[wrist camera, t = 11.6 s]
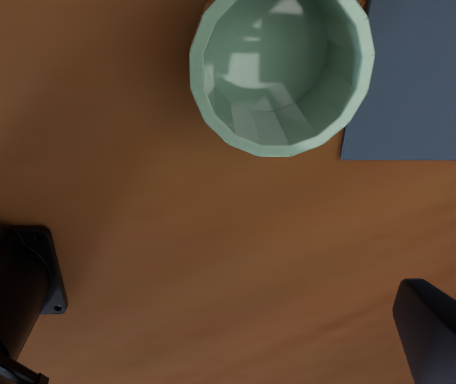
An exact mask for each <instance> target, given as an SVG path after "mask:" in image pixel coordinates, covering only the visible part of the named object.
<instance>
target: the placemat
mask: <svg viewBox="0 0 456 384" xmlns="http://www.w3.org/2000/svg"><path fill="white" fill-rule="evenodd" d="M366 14H367V16H368V18H369V23H370V28H371V33H372V38H373V44H374V49H375V54H374V55H375V60H374V65H373V70H372V75H371V80H370V85H369V90H368V93H367V94H366V96H365V98H364V99H363V101H362V103H361V104H360V106H359V108H358V109H357V111H356V113H355V114H354V116H353V118H352V119H351V121H350V122H349V123H348V124H347V125H346V129H345V135H344V140H343V146H342V152H341V158H342V160H456V0H368V3H367V9H366Z"/></svg>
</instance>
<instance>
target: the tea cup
mask: <svg viewBox="0 0 456 384" xmlns="http://www.w3.org/2000/svg"><path fill="white" fill-rule="evenodd" d="M374 54H375V49H374V44H373V38H372V33H371V28H370V23H369V18H368V16H367V14H366V13H365V11H364V10H363V8H362V7H361V6H360V4H359V3H358V1H357V0H209V1H208V2H207V3H206V4H205V6H204V8H203V11H202V13H201V16H200V18H199V21H198V24H197V27H196V29H195V32H194V35H193V39H192V43H191V47H190V52H189V67H190V89H191V93H192V95H193V97H194V100H195V102H196V104H197V106H198V109H199V111H200V113H201V115H202V118H203V120H204V121H205V123H206V124H207V125H208V126H209V127H210V128H211V129H212V130H213V131H215V132H216V133H217V134H218V135H219V136H220V137H221V138H222V139H223V140H224V141H225V142H226V143H227V144H229V145H230V146H233V147H236V148H238V149H241V150H243V151H246V152H248V153H251V154H253V155H256V156H260V157H290V156H294V155H296V154H299V153H302V152H305V151H307V150H310V149H313V148H316V147H318V146H321V145H322V144H324V143H325V142H327V141H328V140H329V139H330V138H332V137H333V136H334V135H335V134H336V133H338V132H339V131H340V130H341V129H342V128H344V127H345V126H346V125H347V124H348V123H349V122H350V121H351V119H352V118H353V116H354V114H355V113H356V111H357V109H358V108H359V106H360V104H361V103H362V101H363V99H364V98H365V96H366V94H367V93H368V90H369V85H370V80H371V75H372V70H373V65H374V60H375V55H374Z"/></svg>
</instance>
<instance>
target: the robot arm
mask: <svg viewBox="0 0 456 384" xmlns="http://www.w3.org/2000/svg"><path fill="white" fill-rule="evenodd" d="M38 234H42V235H43V236H44V237H41V236H39V235H38ZM57 305H59V306H57ZM60 306H61V307H60ZM67 307H68V302H67V298H66V293H65V289H64V285H63V281H62V277H61V273H60V268H59V264H58V260H57V256H56V252H55V248H54V243H53V239H52V235H51V232H50V230H49V229H47V228H46V227H42V226H5V225H0V384H48V382H49V378H48V377H46V376H45V375H43V374H41V373H38V374H37V373H36V372H34V371H32V370H31V369H29V368H27V367H25V366H24V365H22V364H20V363H19V362H17V361H16V360H17V358H18V356H19V354H20V352H21V350H22V348H23V346H24V344H25V342H26V340H27V338H28V336H29V334H30V332H31V330H32V328H33V326H34V324H35V322H36V320H37V318H38V316H39V314H62V313H64V312H65V311H66V309H67ZM393 317H394V320H395V324H396V327H397V330H398V333H399V336H400V339H401V342H402V345H403V348H404V352H405V355H406V358H407V361H408V364H409V367H410V370H411V373H412V376H413V379H414V382H415V384H456V300H455V299H453V298H452V297H450V296H449V295H447V294H446V293H444V292H442V291H441V290H439V289H438V288H436V287H435V286H433V285H432V284H430V283H429V282H427V281H425V280H424V279H419V278H415V279H403V280H402V281H401V283H400V285H399V288H398V292H397V295H396V298H395V301H394V305H393Z"/></svg>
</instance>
